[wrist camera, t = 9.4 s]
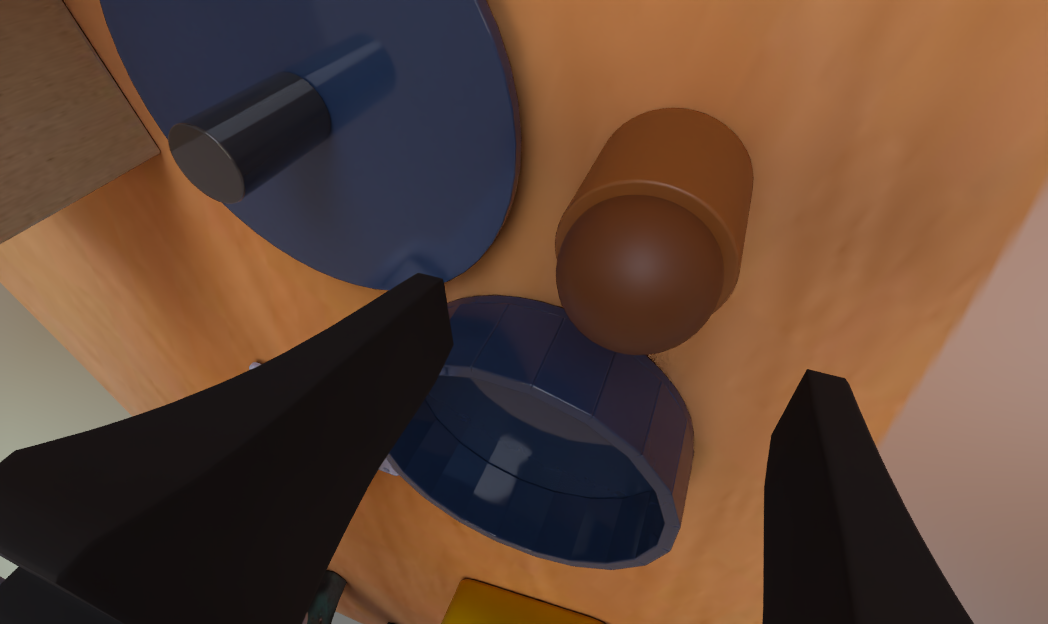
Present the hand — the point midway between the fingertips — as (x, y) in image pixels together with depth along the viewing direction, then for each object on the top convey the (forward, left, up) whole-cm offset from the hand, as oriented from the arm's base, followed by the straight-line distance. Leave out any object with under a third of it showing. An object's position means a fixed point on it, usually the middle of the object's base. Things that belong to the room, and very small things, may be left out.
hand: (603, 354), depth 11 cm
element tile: (-3, -47, -7) cm, 48 cm away
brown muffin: (0, 0, -7) cm, 7 cm away
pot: (-4, -13, -7) cm, 15 cm away
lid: (-12, +1, -6) cm, 14 cm away
